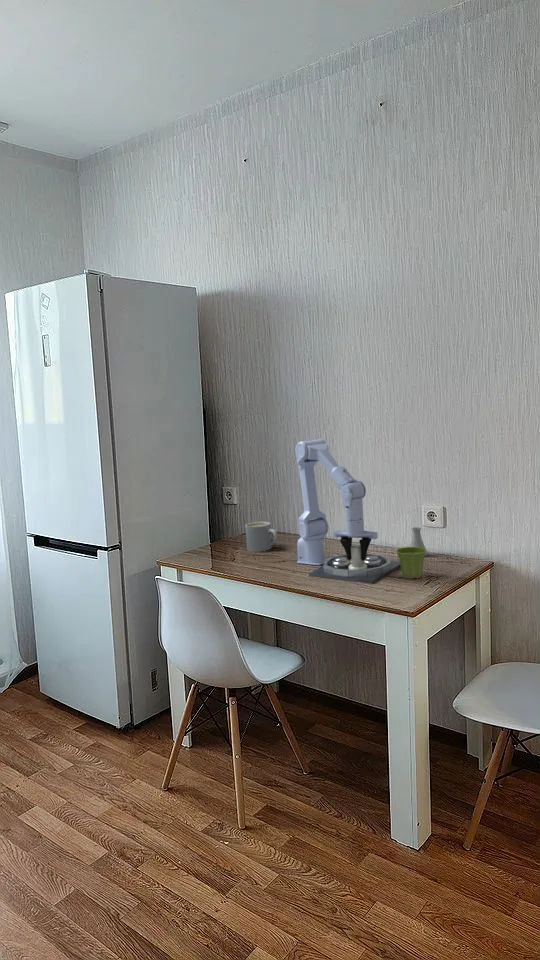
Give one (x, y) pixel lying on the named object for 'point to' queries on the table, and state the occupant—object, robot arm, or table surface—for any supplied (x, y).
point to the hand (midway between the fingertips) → (356, 559)
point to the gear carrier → (340, 570)
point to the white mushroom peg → (356, 559)
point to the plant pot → (411, 561)
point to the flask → (417, 539)
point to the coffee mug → (259, 536)
